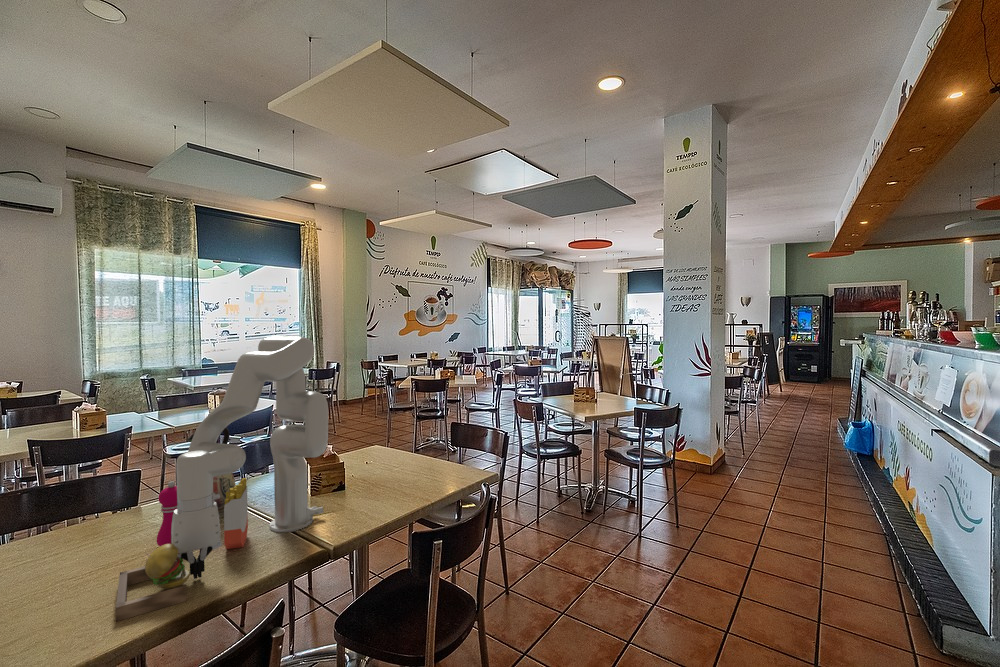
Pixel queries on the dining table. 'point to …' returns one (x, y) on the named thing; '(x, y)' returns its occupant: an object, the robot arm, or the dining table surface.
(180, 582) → the hamburger
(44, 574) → the dining table surface
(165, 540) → the pepper mill
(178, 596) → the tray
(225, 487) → the ceramic jug
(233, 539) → the french fries container
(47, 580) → the dining table surface
